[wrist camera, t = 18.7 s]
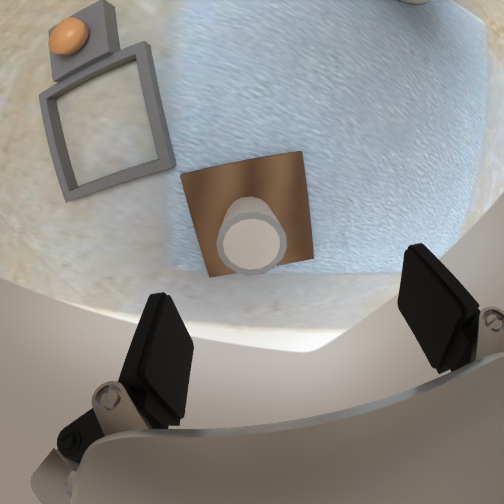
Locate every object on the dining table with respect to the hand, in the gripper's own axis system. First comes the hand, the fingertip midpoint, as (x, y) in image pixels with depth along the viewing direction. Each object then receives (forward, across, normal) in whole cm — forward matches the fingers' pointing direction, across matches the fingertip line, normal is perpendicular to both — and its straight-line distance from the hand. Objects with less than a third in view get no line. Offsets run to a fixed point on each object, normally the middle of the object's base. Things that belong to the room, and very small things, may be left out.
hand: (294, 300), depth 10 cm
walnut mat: (+23, +2, +6) cm, 24 cm away
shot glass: (+23, +2, +6) cm, 23 cm away
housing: (+23, +17, -14) cm, 32 cm away
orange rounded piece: (+22, +17, -22) cm, 35 cm away
